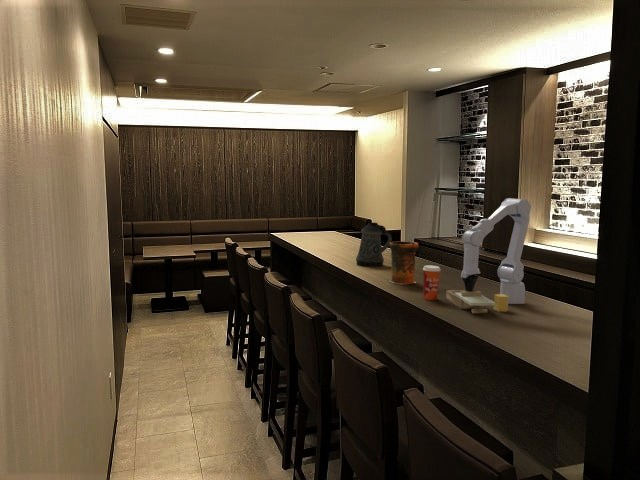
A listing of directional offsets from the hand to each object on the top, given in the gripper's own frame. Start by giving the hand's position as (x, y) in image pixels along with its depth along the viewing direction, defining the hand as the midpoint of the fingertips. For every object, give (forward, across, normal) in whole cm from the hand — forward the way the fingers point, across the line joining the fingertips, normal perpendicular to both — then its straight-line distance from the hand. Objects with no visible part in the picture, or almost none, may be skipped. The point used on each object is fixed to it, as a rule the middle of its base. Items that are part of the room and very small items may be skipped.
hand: (469, 292), depth 216 cm
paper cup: (+6, +1, +18) cm, 19 cm away
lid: (+2, -4, -4) cm, 6 cm away
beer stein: (+6, +60, +84) cm, 103 cm away
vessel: (+6, +25, +44) cm, 52 cm away
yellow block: (+6, +2, -12) cm, 14 cm away
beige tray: (+5, +1, 0) cm, 5 cm away
